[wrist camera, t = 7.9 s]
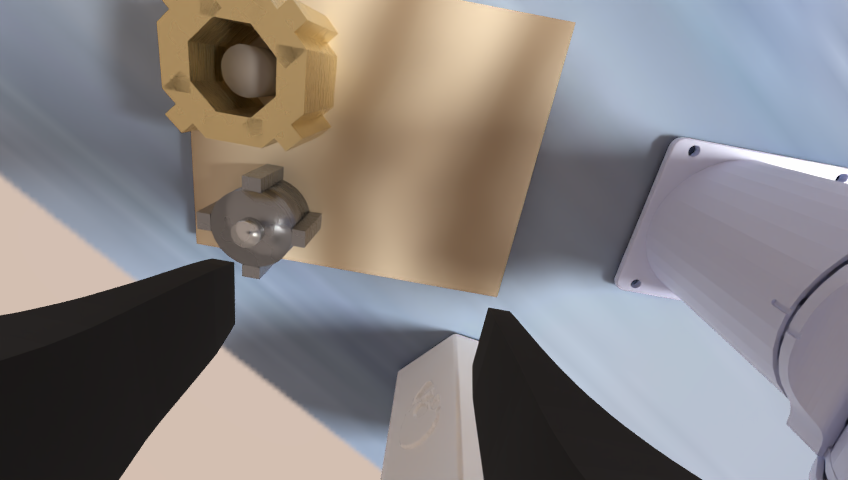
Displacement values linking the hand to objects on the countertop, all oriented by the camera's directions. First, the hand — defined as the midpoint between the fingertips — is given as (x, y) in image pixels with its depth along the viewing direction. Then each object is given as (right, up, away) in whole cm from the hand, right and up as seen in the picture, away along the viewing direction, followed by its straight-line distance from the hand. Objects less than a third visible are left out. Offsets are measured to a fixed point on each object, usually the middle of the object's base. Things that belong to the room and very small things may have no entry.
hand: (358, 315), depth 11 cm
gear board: (-1, +7, +8) cm, 11 cm away
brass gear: (-4, +9, +6) cm, 12 cm away
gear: (-6, +3, +9) cm, 11 cm away
